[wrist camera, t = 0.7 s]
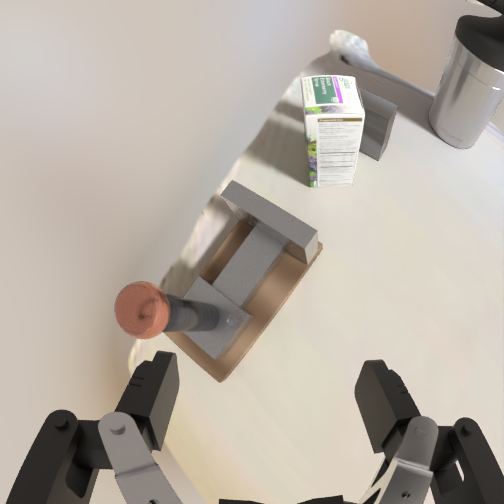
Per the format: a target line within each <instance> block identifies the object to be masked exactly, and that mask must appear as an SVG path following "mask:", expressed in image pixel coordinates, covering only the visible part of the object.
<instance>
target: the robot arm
mask: <svg viewBox="0 0 504 504" xmlns="http://www.w3.org/2000/svg"><path fill="white" fill-rule="evenodd" d="M477 1H479V2H481V3H483V4H485V5H487V6H489V7H491V8H493V9H494V10H496V11H498V12H500V13H501V14H502V15H501V16H499V17H494V18H486V17H478V16H472V15H465V16H462V17H460V18H459V20H458V22H457V26H456V30H455V34H454V38H453V42H452V45H451V50H450V53H449V56H448V59H447V63H446V66H445V69H444V73H443V75H442V79H441V81H440V84H439V87H438V90H437V93H436V95H435V98H434V101H433V104H432V106H431V109H430V112H429V121H430V124H431V126H432V128H433V130H434V131H435V132H436V133H437V135H438V136H439V137H440V138H441V139H443V140H444V141H445V142H447V143H448V144H450V145H452V146H454V147H457V148H461V149H467V148H470V147H472V146H473V145H474V143H475V142H476V140H477V139H478V137H479V136H480V134H481V133H482V131H483V130H484V128H485V127H486V125H487V124H488V122H489V120H490V119H491V117H492V115H493V114H494V112H495V110H496V109H497V107H498V105H499V104H500V102H501V100H502V98H503V96H504V0H477ZM404 385H405V384H404V383H403V381H402V379H401V377H400V376H399V375H398V374H397V373H395V372H394V371H393V370H388V368H387V366H386V364H385V362H384V361H383V360H367V361H365V362H364V364H363V367H362V370H361V372H360V375H359V378H358V380H357V383H356V385H355V398H356V401H357V404H358V407H359V410H360V413H361V415H362V418H363V421H364V424H365V427H366V430H367V433H368V436H369V439H370V442H371V445H372V448H373V451H374V454H375V453H380V452H384V454H385V457H384V458H383V460H382V462H381V464H380V466H379V468H378V470H377V472H376V474H375V476H374V478H373V480H372V482H371V483H370V485H369V487H368V489H367V491H366V492H365V494H364V495H363V496H362V498H361V499H360V500H359V502H358V503H353V502H347V501H343V496H342V495H340V496H333V497H325V498H316V499H311V500H308V501H305V502H301V503H298V504H423V503H424V500H425V497H426V494H427V492H428V489H429V486H430V488H431V491H432V494H433V497H434V501H435V504H504V476H503V474H502V471H501V469H500V467H499V465H498V463H497V461H496V458H495V456H494V454H493V452H492V450H491V448H490V446H489V444H488V442H487V440H486V439H485V437H484V435H483V433H482V431H481V429H480V427H479V426H478V424H477V423H476V422H475V421H474V420H472V419H470V418H460V419H459V420H457V421H456V423H455V424H454V425H453V426H437V424H436V423H435V422H434V421H433V420H432V419H430V418H428V417H425V416H421V414H420V412H419V410H418V408H417V406H416V405H415V403H414V401H413V399H412V397H411V395H410V393H408V390H407V388H406V386H404ZM178 390H179V373H178V365H177V357H176V353H172V352H165V351H157V352H156V354H155V357H154V359H153V361H146V360H145V361H144V362H142V363H141V364H140V365H139V366H138V367H136V369H135V371H134V373H133V375H132V378H131V379H130V381H129V385H127V387H126V389H125V391H124V393H123V395H122V397H121V400H120V401H119V403H118V405H117V408H116V409H115V411H114V412H112V413H109V414H106V415H105V416H103V417H102V418H101V420H97V421H92V420H77V418H76V416H75V415H74V414H73V413H72V412H70V411H67V410H56V411H54V412H52V413H51V414H49V416H48V417H47V418H46V420H45V422H44V424H43V426H42V427H41V429H40V431H39V433H38V435H37V437H36V439H35V441H34V443H33V445H32V446H31V449H30V450H29V452H28V454H27V456H26V459H25V461H24V463H23V465H22V467H21V469H20V471H19V473H18V476H17V478H16V480H15V482H14V485H13V487H12V489H11V492H10V494H9V497H8V499H7V502H6V504H89V502H90V498H91V495H92V492H93V488H94V485H95V482H96V479H97V475H98V472H99V469H114V472H115V479H116V482H117V484H118V486H119V488H120V490H121V492H122V495H123V497H124V499H125V501H126V502H127V504H182V502H181V500H180V499H179V497H178V496H177V494H176V493H175V491H174V490H173V488H172V487H171V485H170V484H169V482H168V480H167V479H166V477H165V476H164V474H163V472H162V471H161V469H160V467H159V466H158V464H157V463H156V462H155V460H154V459H153V457H152V455H151V453H152V450H158V451H161V448H162V445H163V442H164V438H165V435H166V431H167V428H168V424H169V421H170V417H171V414H172V411H173V407H174V404H175V401H176V397H177V394H178ZM457 460H458V461H459V464H460V466H461V469H462V471H463V474H464V481H462V478H461V476H460V473H459V471H458V468H457V466H456V463H455V462H456V461H457ZM219 504H263V503H258V502H254V501H243V500H227V499H219Z"/></svg>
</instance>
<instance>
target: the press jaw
mask: <svg viewBox="0 0 504 504" xmlns="http://www.w3.org/2000/svg"><path fill="white" fill-rule="evenodd" d="M220 196H221V197H222V198H223V199H224V201H225V202H226V203H227V205H228V206H229V207H230V208H231V210H232V211H233V212H234V214H235V215H236V216H237V218H238V219H239V220H240V221H242V222H243V223H245V224H246V225H248V226H250V227H251V228H253V230H252V231H251V232H250V234H249V235H248V237H247V238H246V239H245V241H244V242H243V243H242V245H241V246H240V247H239V249H238V250H237V251H236V253H235V254H234V256H233V257H232V258H231V260H230V261H229V262H228V264H227V265H226V267H225V268H224V269H223V271H222V272H221V273H220V275H219V276H218V277H217V279H216V280H215V282H214V283H212V282H211V281H209V280H208V279H205V278H203V277H201V276H198V277H197V279H196V280H195V282H194V283H193V284H192V286H191V287H190V289H189V290H188V291H187V293H186V294H185V296H184V297H183V298H181V297H177V296H172V295H168V294H165V293H164V292H163V291H162V290H161V289H160V288H159V287H157V286H156V285H154V284H152V283H149V282H143V281H142V282H141V281H140V282H134V283H131V284H129V285H127V286H126V287H125V288H123V289H122V290H121V292H120V293H119V294H118V296H117V298H116V301H115V309H114V311H115V317H116V320H117V322H118V324H119V326H120V327H121V328H122V329H123V330H124V332H125V333H127V334H128V335H130V336H132V337H134V338H138V339H150V338H153V337H155V336H157V335H159V334H160V333H161V332H184V333H185V334H186V335H187V336H188V337H189V338H190V339H191V340H193V341H194V342H195V343H196V344H197V345H198V346H199V347H200V348H202V349H203V350H204V351H205V352H206V353H207V354H209V355H210V356H211V357H212V358H213V359H214V360H215V359H218V358H221V357H224V356H225V354H226V353H227V352H228V351H229V349H230V348H231V347H232V345H233V344H234V343H235V341H236V340H237V339H238V338H239V336H240V335H241V334H242V332H243V331H244V330H245V328H246V327H247V326H248V324H249V323H250V322H251V320H252V319H253V318H254V315H253V314H252V313H250V312H249V311H248V310H246V309H245V307H246V305H247V304H248V302H249V301H250V300H251V298H252V297H253V296H254V294H255V293H256V292H257V290H258V289H259V287H260V286H261V285H262V283H263V282H264V281H265V279H266V278H267V276H268V275H269V274H270V272H271V271H272V270H273V268H274V267H275V265H276V264H277V263H278V261H279V260H280V258H281V257H282V256H283V254H284V253H285V251H287V252H289V253H290V254H292V255H293V256H295V257H296V258H298V259H299V260H301V261H302V262H304V263H305V264H307V265H308V264H309V263H310V261H311V260H312V258H313V257H314V255H315V254H316V253H317V251H318V238H317V230H315V229H314V228H312V227H310V226H309V225H307V224H306V223H304V222H302V221H301V220H299V219H298V218H296V217H294V216H293V215H291V214H289V213H288V212H286V211H285V210H283V209H281V208H280V207H278V206H276V205H275V204H273V203H271V202H270V201H268V200H266V199H264V198H263V197H261V196H259V195H258V194H256V193H254V192H253V191H251V190H249V189H247V188H246V187H244V186H242V185H240V184H239V183H237V182H235V181H233V180H232V181H231V182H230V183H229V185H228V186H227V187H226V188H225V190H224V191H223V192H222V194H221V195H220Z"/></svg>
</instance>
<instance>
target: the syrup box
mask: <svg viewBox="0 0 504 504" xmlns="http://www.w3.org/2000/svg"><path fill="white" fill-rule="evenodd" d="M301 88H302V99H303V114H304V129H305V140H306V149H307V159H308V170H309V180H310V187H331V186H351V185H352V183H353V178H354V174H355V169H356V164H357V159H358V153H359V148H360V143H361V137H362V131H363V125H364V118H365V112H364V108H363V104H362V100H361V95H360V92H359V89H358V86H357V83H356V80H355V77H352V76H340V75H319V76H309V77H303V78H301Z"/></svg>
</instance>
